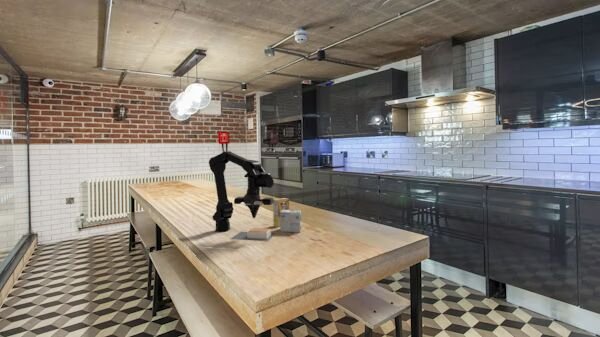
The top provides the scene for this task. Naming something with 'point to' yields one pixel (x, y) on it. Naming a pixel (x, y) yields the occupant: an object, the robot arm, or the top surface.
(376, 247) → the top surface
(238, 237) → the rubber mat
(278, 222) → the candy box
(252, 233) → the ivory tile
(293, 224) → the light bulb box
